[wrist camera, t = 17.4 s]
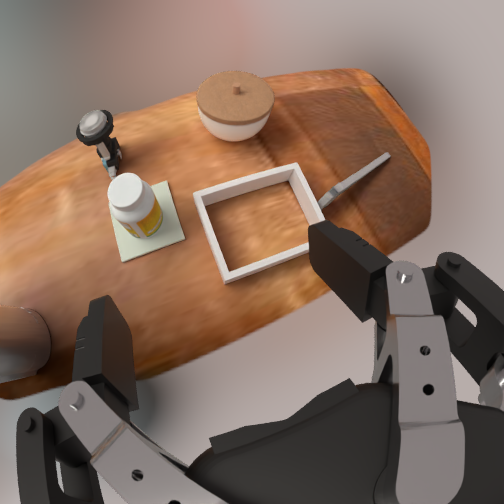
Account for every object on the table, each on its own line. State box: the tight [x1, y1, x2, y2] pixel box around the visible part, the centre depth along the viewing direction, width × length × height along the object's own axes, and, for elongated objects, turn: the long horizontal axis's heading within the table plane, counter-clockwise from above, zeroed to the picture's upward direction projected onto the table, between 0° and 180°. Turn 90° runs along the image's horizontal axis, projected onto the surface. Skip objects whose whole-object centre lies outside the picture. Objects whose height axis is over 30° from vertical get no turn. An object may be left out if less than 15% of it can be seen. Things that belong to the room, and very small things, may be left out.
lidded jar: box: [197, 71, 275, 141], centre depth 36 cm, size 11×11×9 cm
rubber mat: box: [109, 181, 185, 262], centre depth 35 cm, size 9×9×1 cm
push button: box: [76, 110, 122, 180], centre depth 32 cm, size 7×5×10 cm
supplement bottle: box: [108, 173, 163, 239], centre depth 30 cm, size 5×5×10 cm
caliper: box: [317, 152, 391, 210], centre depth 38 cm, size 20×1×6 cm, turn 128°
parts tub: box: [193, 163, 325, 285], centre depth 36 cm, size 12×15×4 cm
